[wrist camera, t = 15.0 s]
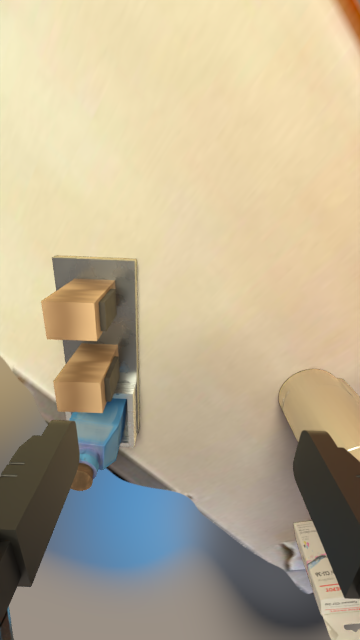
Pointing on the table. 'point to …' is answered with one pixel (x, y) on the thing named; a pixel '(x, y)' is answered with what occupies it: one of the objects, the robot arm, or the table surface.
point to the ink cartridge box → (326, 585)
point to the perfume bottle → (98, 440)
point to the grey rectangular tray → (120, 329)
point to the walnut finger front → (80, 310)
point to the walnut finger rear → (88, 379)
